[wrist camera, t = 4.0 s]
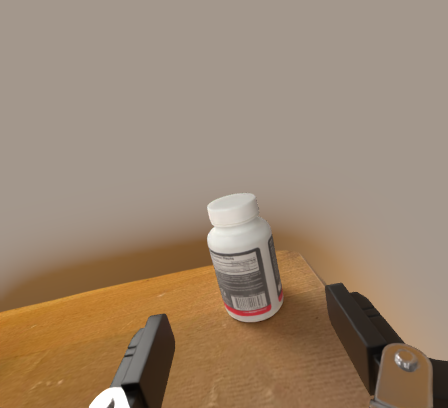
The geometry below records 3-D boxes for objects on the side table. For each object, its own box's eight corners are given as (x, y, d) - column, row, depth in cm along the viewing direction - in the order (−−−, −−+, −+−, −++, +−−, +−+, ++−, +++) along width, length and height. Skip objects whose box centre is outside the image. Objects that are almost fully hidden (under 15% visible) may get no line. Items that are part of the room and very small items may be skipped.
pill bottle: (249, 278, 26) (229, 189, 23) (295, 293, 22) (278, 190, 19) (213, 310, 22) (185, 210, 20) (260, 335, 19) (233, 216, 16)
